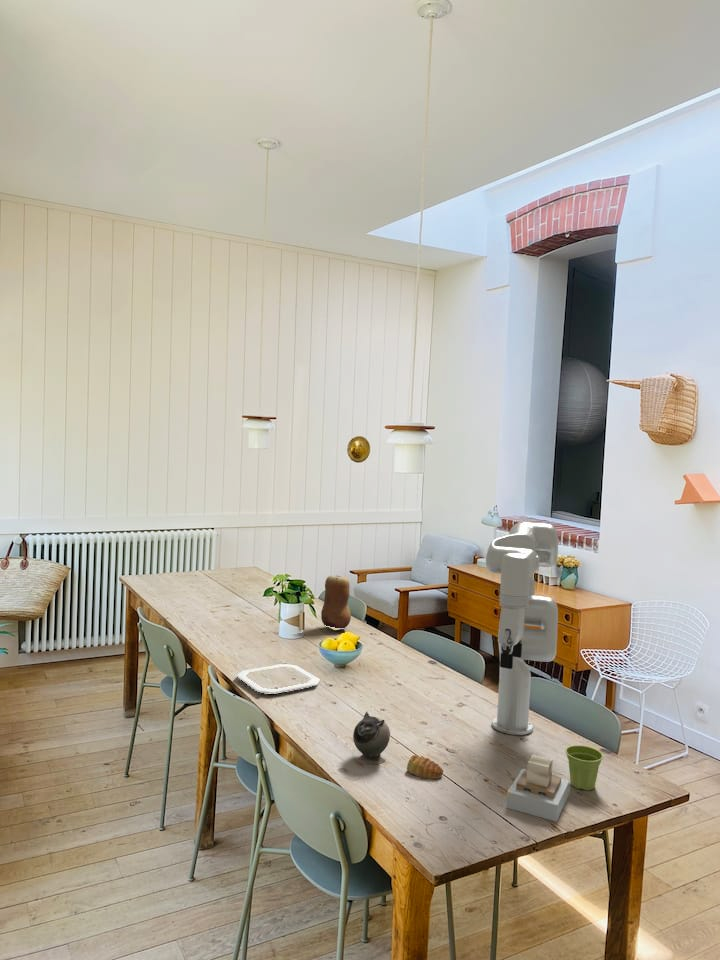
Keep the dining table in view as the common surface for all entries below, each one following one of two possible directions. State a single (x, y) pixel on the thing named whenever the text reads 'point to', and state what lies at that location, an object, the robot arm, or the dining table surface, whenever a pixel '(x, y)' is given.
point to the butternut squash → (336, 602)
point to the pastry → (424, 767)
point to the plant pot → (583, 766)
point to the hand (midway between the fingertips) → (510, 662)
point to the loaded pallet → (539, 788)
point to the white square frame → (312, 682)
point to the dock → (538, 800)
